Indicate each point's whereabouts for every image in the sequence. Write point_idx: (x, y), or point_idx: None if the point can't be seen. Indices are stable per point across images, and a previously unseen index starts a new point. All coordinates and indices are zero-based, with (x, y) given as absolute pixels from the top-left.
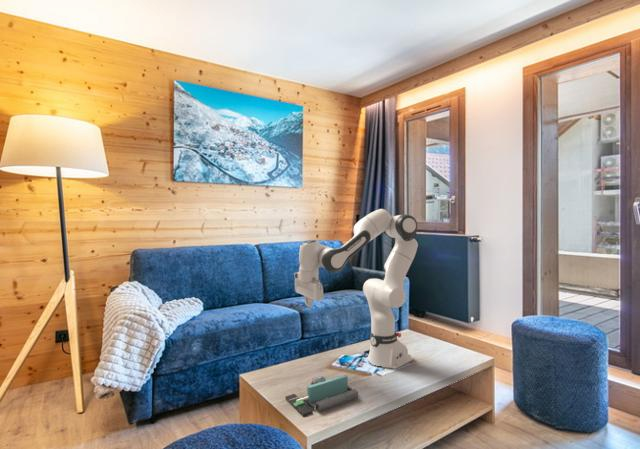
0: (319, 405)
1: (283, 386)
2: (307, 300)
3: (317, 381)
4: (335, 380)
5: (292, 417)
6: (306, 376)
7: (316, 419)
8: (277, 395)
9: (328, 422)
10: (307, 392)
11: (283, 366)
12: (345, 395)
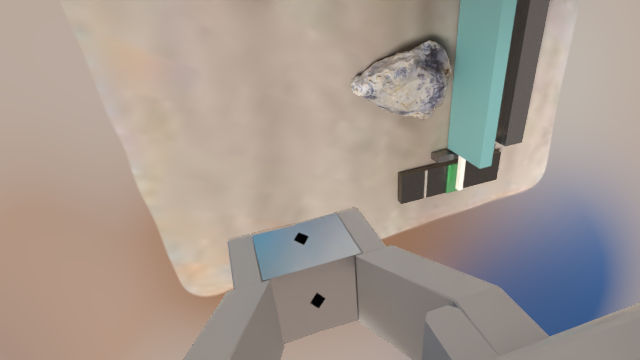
0: (520, 139)
1: (326, 191)
2: (264, 346)
3: (436, 105)
4: (506, 52)
5: (477, 199)
6: (290, 90)
7: (518, 148)
8: (368, 216)
9: (545, 125)
10: (467, 159)
11: (153, 158)
12: (539, 38)
